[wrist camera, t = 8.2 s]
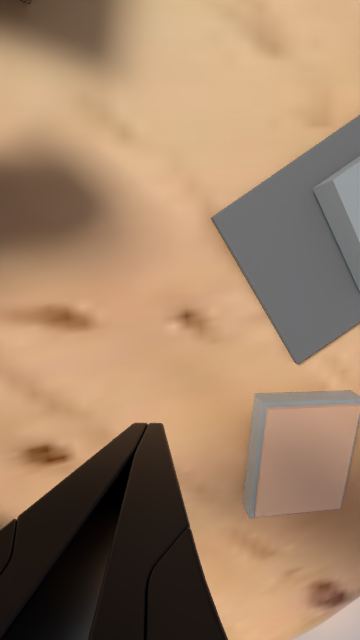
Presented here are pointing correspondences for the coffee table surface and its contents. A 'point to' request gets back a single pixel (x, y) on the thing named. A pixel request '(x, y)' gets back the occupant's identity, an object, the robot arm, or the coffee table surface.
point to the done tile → (300, 451)
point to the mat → (297, 248)
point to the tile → (344, 212)
